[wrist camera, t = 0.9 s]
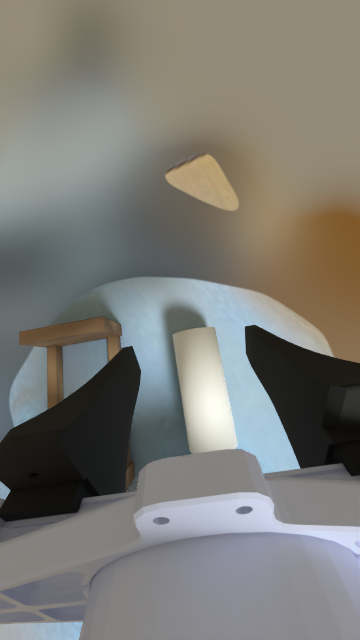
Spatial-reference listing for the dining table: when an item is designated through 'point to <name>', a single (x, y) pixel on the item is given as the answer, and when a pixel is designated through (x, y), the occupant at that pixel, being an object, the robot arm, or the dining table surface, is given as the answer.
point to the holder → (70, 335)
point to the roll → (204, 391)
